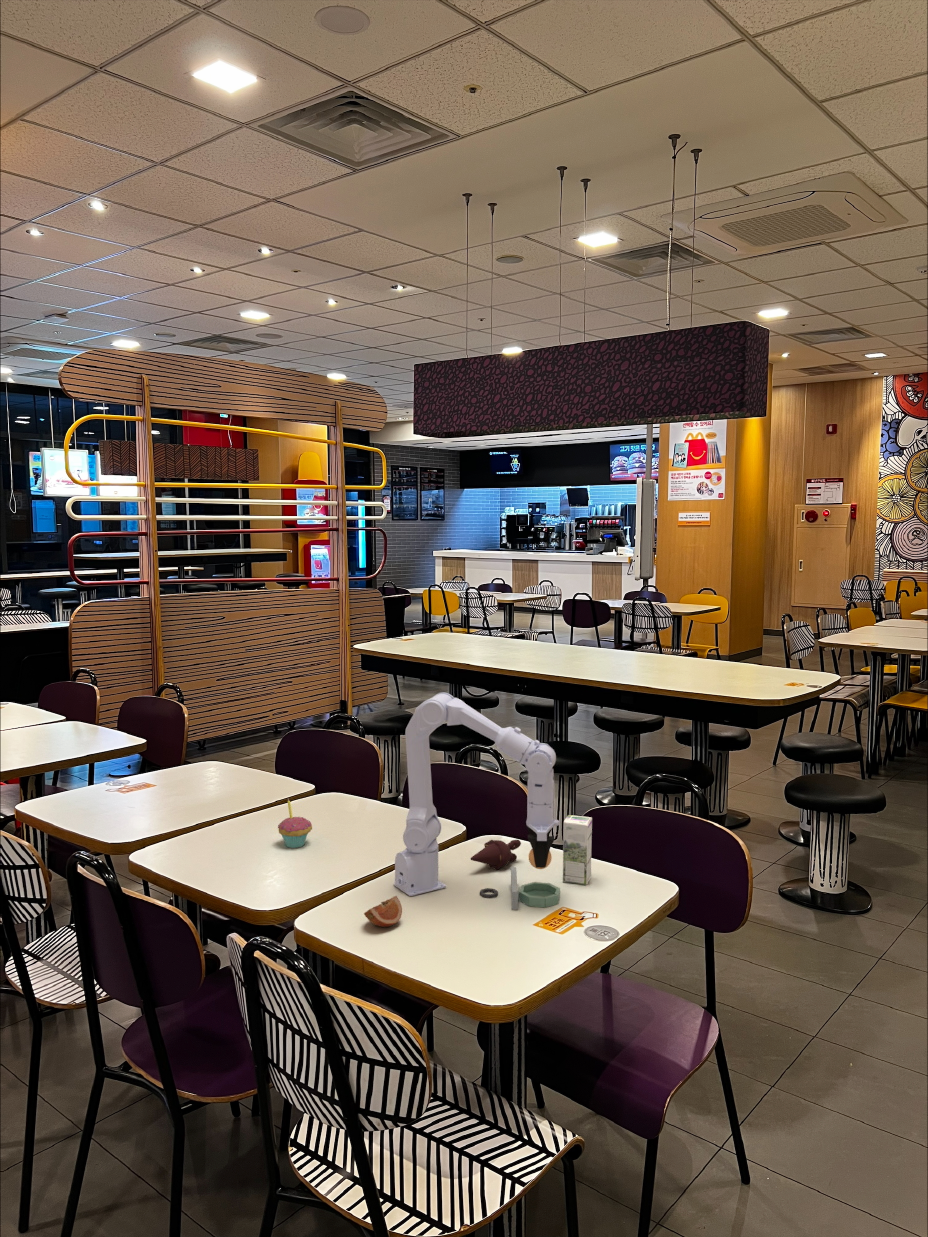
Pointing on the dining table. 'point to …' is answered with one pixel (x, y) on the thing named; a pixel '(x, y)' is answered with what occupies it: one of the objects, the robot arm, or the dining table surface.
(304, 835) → the cupcake
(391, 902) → the fruit slice
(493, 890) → the ring
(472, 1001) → the dining table surface
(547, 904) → the dish
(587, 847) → the syrup box
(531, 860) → the ball
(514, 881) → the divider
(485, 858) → the icecream
